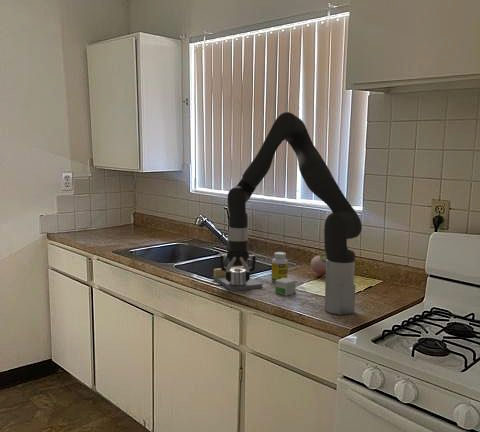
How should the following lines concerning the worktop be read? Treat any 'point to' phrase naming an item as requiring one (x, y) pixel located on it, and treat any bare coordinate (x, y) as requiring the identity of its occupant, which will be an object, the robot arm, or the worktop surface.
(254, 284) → the carrier
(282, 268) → the pill bottle
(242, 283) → the planet gear
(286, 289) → the small box
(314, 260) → the decorative fruit
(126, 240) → the worktop surface
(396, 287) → the worktop surface
